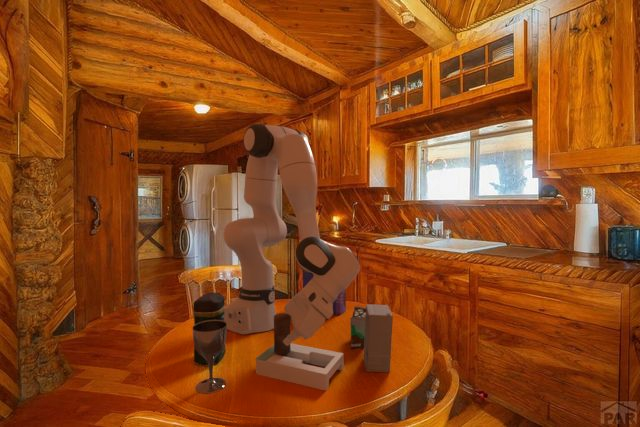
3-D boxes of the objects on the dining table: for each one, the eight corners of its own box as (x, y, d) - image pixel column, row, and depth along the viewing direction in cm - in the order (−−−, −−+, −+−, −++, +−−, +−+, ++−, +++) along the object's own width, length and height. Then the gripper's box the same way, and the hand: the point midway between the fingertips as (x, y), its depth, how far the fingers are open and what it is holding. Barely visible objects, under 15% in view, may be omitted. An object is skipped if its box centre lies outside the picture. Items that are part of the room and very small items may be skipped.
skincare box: (363, 358, 98) (362, 303, 98) (388, 358, 98) (388, 303, 97) (366, 373, 90) (365, 313, 89) (393, 373, 90) (393, 313, 89)
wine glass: (198, 377, 88) (197, 320, 88) (230, 376, 89) (229, 319, 88) (189, 395, 80) (188, 332, 80) (224, 393, 81) (223, 331, 80)
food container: (371, 352, 102) (371, 319, 101) (350, 351, 103) (350, 318, 102) (373, 336, 114) (373, 306, 113) (354, 334, 115) (354, 305, 114)
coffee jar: (219, 366, 94) (217, 299, 93) (190, 367, 94) (188, 300, 93) (229, 351, 104) (227, 290, 103) (202, 351, 104) (201, 290, 103)
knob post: (269, 369, 92) (268, 318, 92) (279, 360, 97) (278, 312, 96) (286, 373, 90) (285, 320, 90) (295, 364, 95) (294, 314, 94)
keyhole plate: (256, 373, 90) (255, 358, 90) (279, 354, 101) (279, 340, 101) (326, 390, 82) (326, 373, 82) (343, 367, 93) (343, 352, 93)
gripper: (300, 281, 105) (268, 316, 103) (318, 300, 85) (279, 344, 83) (314, 294, 106) (283, 329, 104) (335, 316, 86) (297, 360, 84)
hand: (281, 336), depth 93 cm, fingers open, 8 cm apart
